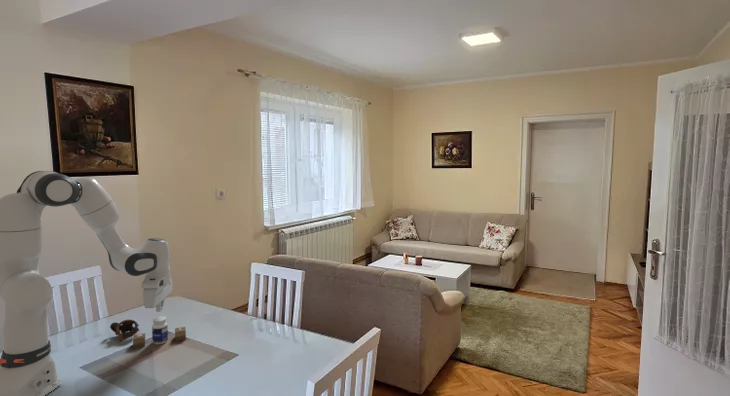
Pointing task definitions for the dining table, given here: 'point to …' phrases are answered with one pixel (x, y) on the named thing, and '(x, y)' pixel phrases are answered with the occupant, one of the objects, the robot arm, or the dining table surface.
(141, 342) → the walnut block dot
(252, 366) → the dining table surface
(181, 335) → the walnut block bar
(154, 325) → the pill bottle
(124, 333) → the pottery mug
